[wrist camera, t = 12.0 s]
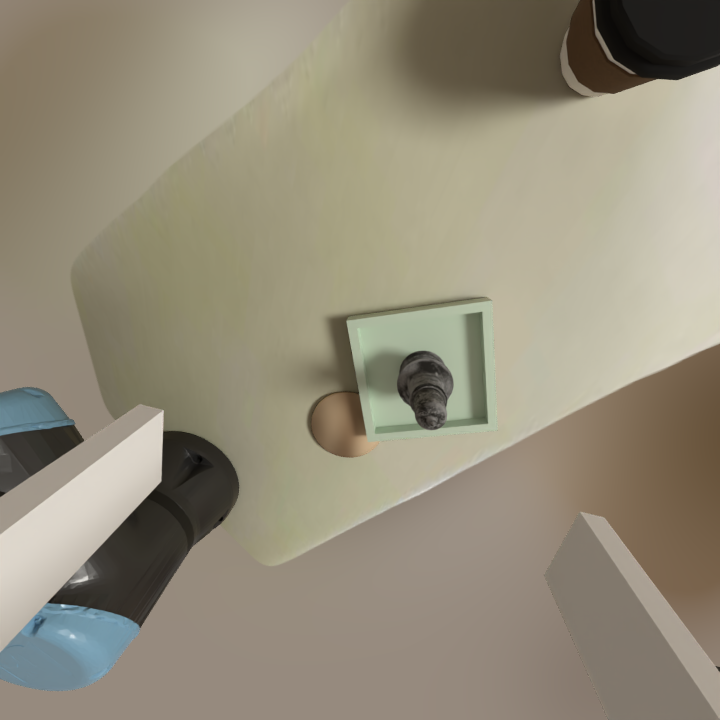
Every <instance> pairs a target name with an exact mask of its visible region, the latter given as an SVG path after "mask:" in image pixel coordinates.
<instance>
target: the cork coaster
mask: <svg viewBox="0 0 720 720" xmlns="http://www.w3.org/2000/svg"><path fill="white" fill-rule="evenodd" d="M311 427H312V432H313V434H314V437H315V439H316V440H317V442H318V443H319V444H320V445H321V446H322V447H323V448H324V449H326V450H327V451H329V452H330V453H332V454H335V455H338V456H341V457H358V456H362V455H364V454H367V453H368V452H370V451H371V450H373V449H374V448H375V447H376V446H377V445H378V443H379V442H380V441H376V442H368V440H367V435H366V429H365V423H364V418H363V412H362V406H361V401H360V395H359V394H358V393H354V392H337V393H333V394H331V395H329V396H327V397H325V398H324V399H323V400H321V401H320V402H319V404H318V405H317V406H316V408H315V410H314V412H313V415H312V420H311Z"/></svg>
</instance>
